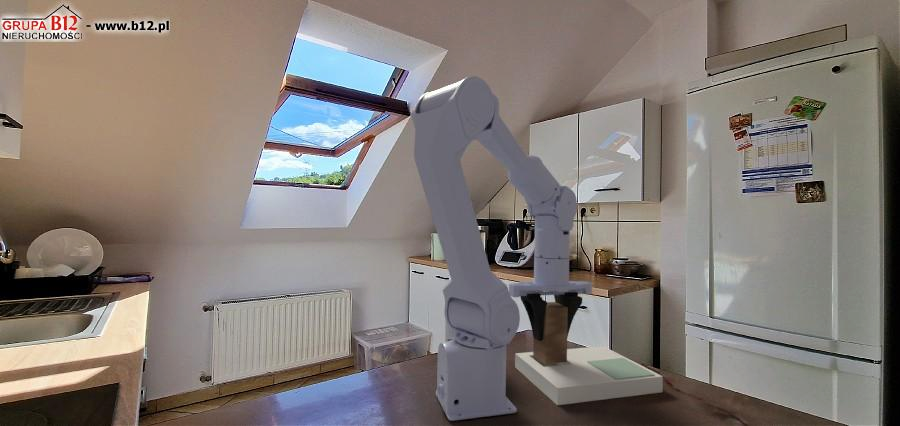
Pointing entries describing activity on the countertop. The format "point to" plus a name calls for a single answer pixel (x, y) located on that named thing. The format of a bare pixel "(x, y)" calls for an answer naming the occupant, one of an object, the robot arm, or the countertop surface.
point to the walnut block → (553, 335)
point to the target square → (620, 368)
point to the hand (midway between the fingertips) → (550, 338)
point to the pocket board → (583, 377)
